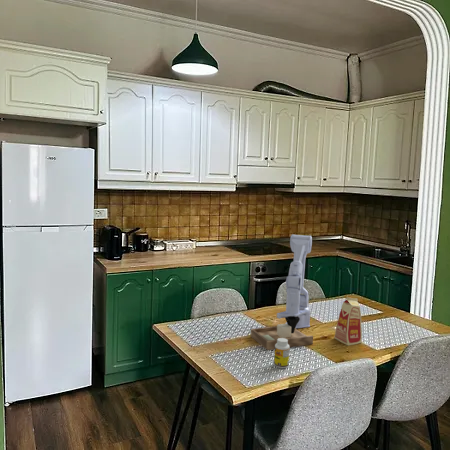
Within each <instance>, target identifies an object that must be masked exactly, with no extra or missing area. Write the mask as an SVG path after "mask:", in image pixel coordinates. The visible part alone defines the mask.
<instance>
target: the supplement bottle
mask: <svg viewBox="0 0 450 450" xmlns="http://www.w3.org/2000/svg"><path fill="white" fill-rule="evenodd" d="M290 348H291V347H290V346H289V345H288V340H287V339H285V338H278V339H277V343H276V344H275V349H274V354H273V355H274V356H273V358H274V359H273V365H274V367H276V368H278V369H287V368H288V367H289V366H290V365H289V364H290V350H291V349H290Z"/></svg>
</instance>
